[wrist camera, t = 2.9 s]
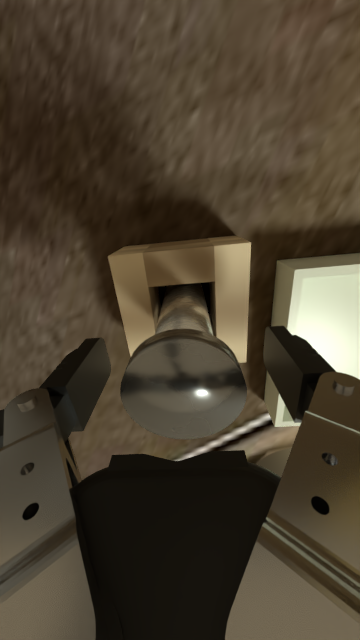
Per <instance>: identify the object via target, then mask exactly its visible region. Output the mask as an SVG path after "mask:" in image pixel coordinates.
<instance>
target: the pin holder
mask: <svg viewBox="0 0 360 640" xmlns="http://www.w3.org/2000/svg"><path fill="white" fill-rule="evenodd" d="M250 256H251V242H249V241H247V240H245V239H243V238H240V237H238V236H226V237H215V238H205V239H195V240H185V241H175V242H164V243H154V244H144V245H134V246H125V247H123V248H121V249H119V250H118V251H116V252H114V253H112V254H111V255H109V256H108V260H109V264H110V269H111V273H112V277H113V282H114V286H115V290H116V295H117V299H118V303H119V308H120V312H121V316H122V321H123V325H124V329H125V334H126V338H127V342H128V347H129V351H130V355H131V356H132V354H133V352H134V351H135V350H136V348H137V347H138V346H139V345H140V344H141V343H142V342H144V341H145V340H146V339H148V338H149V337H151V336H153V335H155V331H156V327H157V323H158V319H159V315H160V311H161V303H160V296H159V289H158V286H167V285H179V284H190V283H202V282H209V286H210V311H211V315H209V318H210V323H211V327H212V332H213V336H215V337H217V338H219V339H220V340H222V341H223V342H224V343H225V344H226V345H228V346H229V348H230V349H231V350H232V351H233V353H234V354H235V356H236V358H237V360H238V363H243V362H246V355H247V330H248V305H249V281H250Z"/></svg>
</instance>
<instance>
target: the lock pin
mask: <svg viewBox="0 0 360 640" xmlns="http://www.w3.org/2000/svg"><path fill="white" fill-rule="evenodd" d="M246 396H247V389H246V383H245V380H244V377H243V374H242V371H241V368H240V365H239V363H238V360H237V358H236V356H235V354H234V353H233V351H232V350H231V349H230V348H229V346H228V345H226V344H225V343H224V342H223V341H222V340H220V339H219V338H217V337H215V336H213V332H212V327H211V323H210V318H209V314H208V309H207V305H206V301H205V296H204V292H203V288H202V285H201V284H200V283H190V284H179V285H167V288H166V291H165V295H164V299H163V303H162V307H161V311H160V315H159V319H158V323H157V327H156V331H155V335H153V336H151V337H149V338H148V339H146V340H145V341H144V342H142V343H141V344H140V345H139V346H138V347H137V348H136V350H135V351H134V352H133V354H132V356H131V358H130V360H129V363H128V366H127V368H126V371H125V374H124V376H123V379H122V382H121V399H122V403H123V405H124V408H125V409H126V411H127V413H128V414H129V415H130V417H131V418H132V419H133V420H134V421H135V422H136V423H138V424H139V425H140V426H141V427H143V428H145V429H146V430H148V431H150V432H152V433H155V434H157V435H160V436H164V437H168V438H174V439H195V438H201V437H205V436H209V435H212V434H214V433H217V432H219V431H221V430H222V429H224V428H226V427H227V426H228V425H230V424H231V423H232V422H233V421H234V420H235V419H236V418H237V417H238V416H239V414H240V413H241V411H242V409H243V407H244V405H245V401H246Z"/></svg>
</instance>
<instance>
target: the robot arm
mask: <svg viewBox="0 0 360 640" xmlns="http://www.w3.org/2000/svg"><path fill="white" fill-rule="evenodd" d="M263 360H264V364H265V367H266V369H267V371H268V373H269V375H270V377H271V379H272V381H273V383H274V384H275V386H276V388H277V390H278V392H279V394H280V396H281V398H282V400H283V402H284V404H285V405H286V407H287V409H288V411H289V413H290V415H291V417H292V419H293V421H294V423H301V424H300V427H299V430H298V433H297V435H296V438H295V441H294V444H293V446H292V449H291V452H290V455H289V458H288V460H287V463H286V466H285V469H284V472H283V474H282V477H280V476H278V475H277V474H275V473H273V472H272V471H270V470H268V469H266V468H264V467H262V466H258V465H256V464H253V463H249V462H247V459H246V455H245V451H244V450H240V451H212V452H208V453H205V454H201V455H198V456H194V457H191V458H188V459H184V460H181V461H171V460H167V459H163V458H159V457H154V456H150V455H146V454H129V455H112V457H111V460H110V464H109V467H107V468H104V469H102V470H100V471H97V472H95V473H94V474H92V475H90V476H88V477H87V478H85V479H84V480H82V479H81V476H80V472H79V469H78V466H77V462H76V459H75V456H74V452H73V449H72V446H71V442H70V440H69V438H68V437H69V435H70V433H71V432H74V431H83V430H84V428H85V426H86V424H87V422H88V420H89V418H90V416H91V414H92V412H93V409H94V407H95V405H96V403H97V401H98V399H99V397H100V395H101V393H102V391H103V388H104V386H105V384H106V382H107V380H108V378H109V376H110V372H111V365H110V360H109V357H108V353H107V349H106V346H105V342H104V340H103V338H90V339H85V340H84V342H83V343H82V344H81V345H80V347H79V348H78V349H75V350H74V351H72V352H71V353H70V354H68V355H67V356H66V357H65V358H64V359H63V360H62V362H61V364H59V365H58V366H57V368H56V369H55V370H54V371H53V372H52V373H51V375H50V376H49V377H48V378H47V379H46V380H45V382H44V383H43V384H42V385H41V386H40V387H39V388H36V389H31V390H28V391H26V392H23V393H21V394H20V395H18V396H16V397H15V398H14V399H12V400H11V401H10V402H9V403H8V404H7V406H6V407H5V409H4V410H0V640H360V380H359V379H358V378H356V377H354V376H351V375H348V374H345V373H341V372H336V371H335V370H334V369H333V368H332V367H331V365H330V364H329V363H328V362H327V361H326V360H325V359H324V358H323V357H322V356H321V355H320V354H318V352H317V351H316V350H315V349H314V348H313V347H312V346H311V345H310V344H309V343H308V342H307V341H306V340H305V339H303V338H301V337H299V336H297V335H292V334H291V333H290V332H289V331H288V330H287V329H286V328H285V326H269V327H266V329H265V338H264V351H263Z"/></svg>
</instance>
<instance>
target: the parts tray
mask: <svg viewBox="0 0 360 640" xmlns="http://www.w3.org/2000/svg"><path fill="white" fill-rule="evenodd" d="M271 326H285V328H286V329H287V330H288V331H289V332H290V333H291V334H292V335H297V336H299V337H301V338H303V339H305V340H306V341H307V342H308V343H309V344H310V345H311V346H312V347H313V348H314V349H315V350H316V351H317V352H318V354H320V355H321V356H322V357H323V358H324V359H325V360H326V361H327V362H328V363H329V364H330V365H331V367H332V368H333V369H334V370H335V371H336V372H341V373H345V374H348V375H351V376H354V377H356V378H358V379H359V380H360V253H352V254H341V255H330V256H319V257H308V258H296V259H285V260H277V264H276V275H275V286H274V297H273V308H272V319H271ZM264 402H265V405H266V407H267V409H268V412H269V414H270V417H271V419H272V421H273V424H274V426H275V427H283V426H300V424H301V423H294V421H293V419H292V417H291V415H290V413H289V411H288V409H287V407H286V405H285V404H284V402H283V400H282V398H281V396H280V394H279V392H278V390H277V388H276V386H275V384H274V383H273V381H272V379H271V377H270V375H269V373H268V371H267V374H266V385H265V396H264Z"/></svg>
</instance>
